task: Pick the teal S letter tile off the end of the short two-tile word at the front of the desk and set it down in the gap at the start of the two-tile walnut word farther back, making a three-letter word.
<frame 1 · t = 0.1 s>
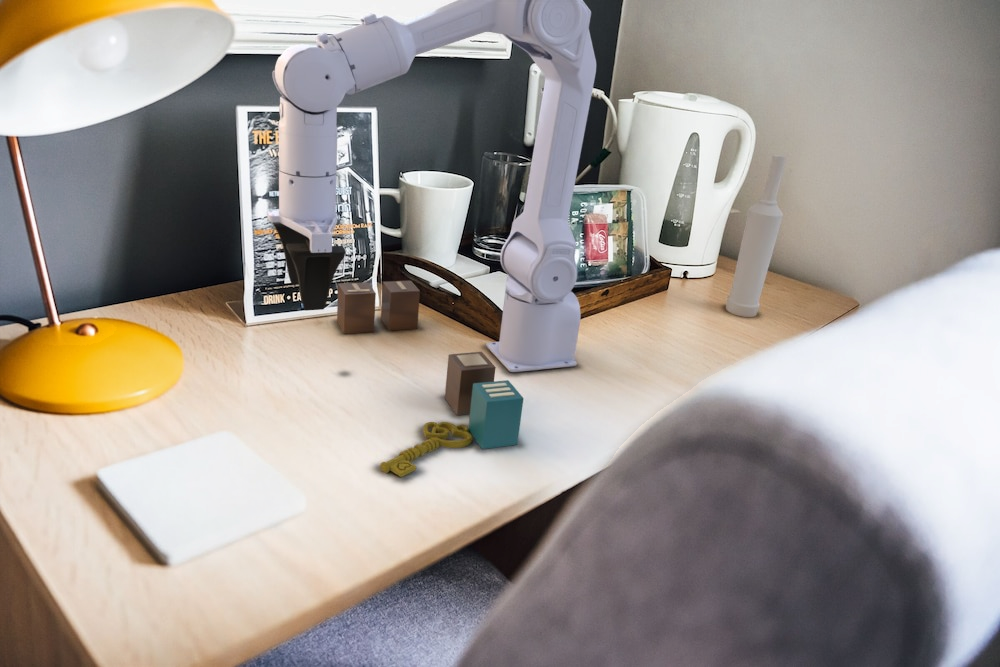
hand: (306, 295, 84), 10 cm above the table, tool pointing down, fingers open, 7 cm apart
bottle: (740, 312, 124), on the table
tile S: (492, 437, 80), on the table
tile T: (355, 326, 102), on the table
tile I: (398, 324, 104), on the table
key: (424, 453, 77), on the table
tile A: (467, 404, 86), on the table
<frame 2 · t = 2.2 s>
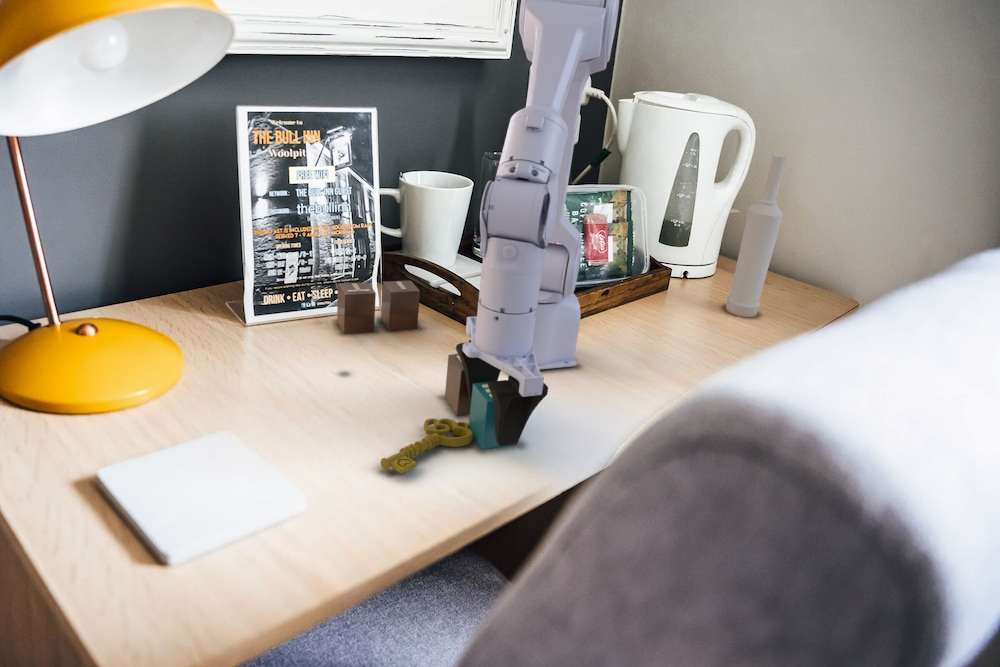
hand: (493, 425, 80), 1 cm above the table, tool pointing down, fingers open, 6 cm apart
tile A: (467, 404, 86), on the table, touching gripper
everything else where it was.
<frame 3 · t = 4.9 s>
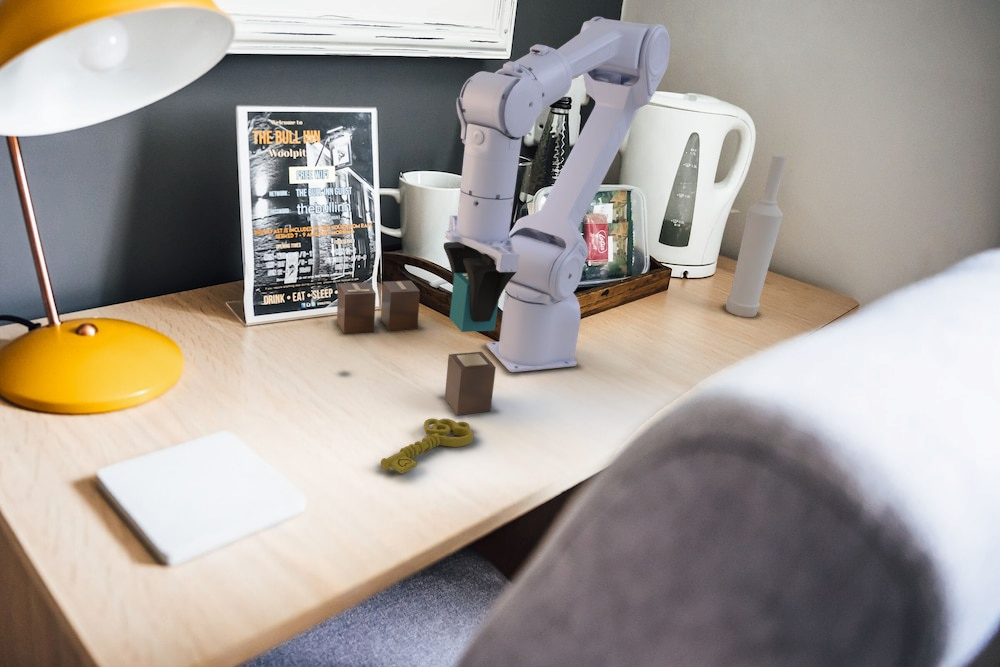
hand: (472, 312, 86), 9 cm above the table, tool pointing down, fingers closed on tile S, 4 cm apart
tile S: (471, 324, 87), point 8 cm above the table, touching gripper
tile A: (467, 404, 86), on the table
everything else where it was.
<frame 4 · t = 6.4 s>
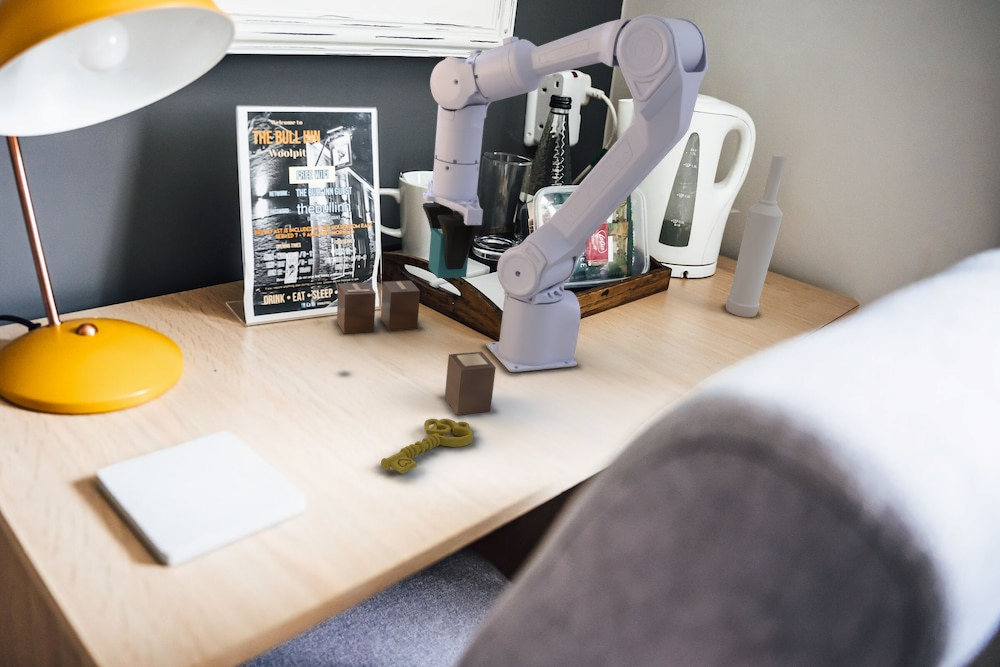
hand: (448, 262, 102), 9 cm above the table, tool pointing down, fingers closed on tile S, 4 cm apart
tile S: (447, 272, 102), point 8 cm above the table, touching gripper
everything else where it was.
when the fingers open (1 cm above the table, at t = 8.8 s): tile S stays where it is, on the table.
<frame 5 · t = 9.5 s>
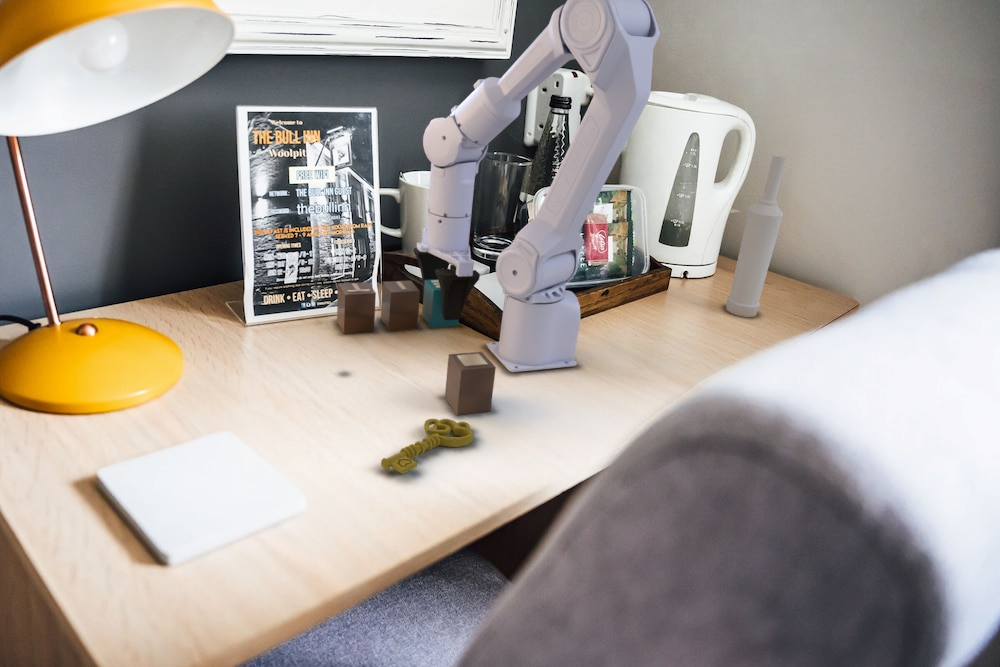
hand: (441, 308, 106), 2 cm above the table, tool pointing down, fingers open, 7 cm apart
tile S: (439, 321, 107), on the table
everything else where it was.
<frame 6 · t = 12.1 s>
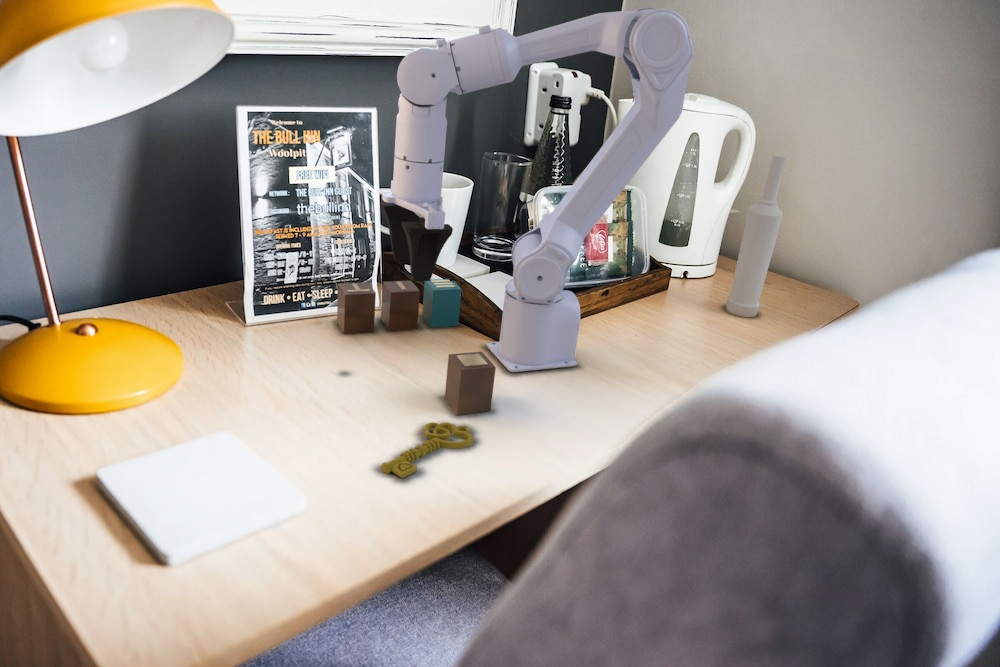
hand: (411, 269, 94), 10 cm above the table, tool pointing down, fingers open, 7 cm apart
nothing on the table moved.
at the end: tile S 1.1 cm from the target spot on the table beside the tile I, on the table; tile S tilted 0°; tile S moved 30.4 cm from its start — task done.
